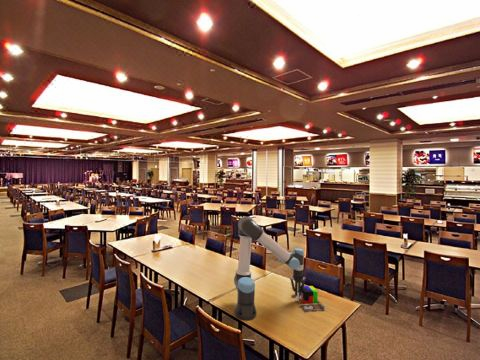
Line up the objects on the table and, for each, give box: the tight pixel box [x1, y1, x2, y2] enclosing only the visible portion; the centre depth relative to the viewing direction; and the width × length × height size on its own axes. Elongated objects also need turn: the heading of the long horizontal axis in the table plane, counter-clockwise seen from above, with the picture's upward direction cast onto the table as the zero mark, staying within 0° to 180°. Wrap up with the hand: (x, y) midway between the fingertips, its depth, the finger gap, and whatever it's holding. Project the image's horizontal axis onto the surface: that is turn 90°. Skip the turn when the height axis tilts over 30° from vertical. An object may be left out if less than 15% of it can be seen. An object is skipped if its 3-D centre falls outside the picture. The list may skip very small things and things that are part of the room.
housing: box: [290, 293, 327, 313], centre depth 192 cm, size 17×24×4 cm
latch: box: [304, 305, 313, 310], centre depth 183 cm, size 6×2×3 cm, turn 100°
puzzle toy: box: [299, 285, 319, 304], centre depth 197 cm, size 10×10×10 cm
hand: (297, 300), depth 195 cm, fingers closed
